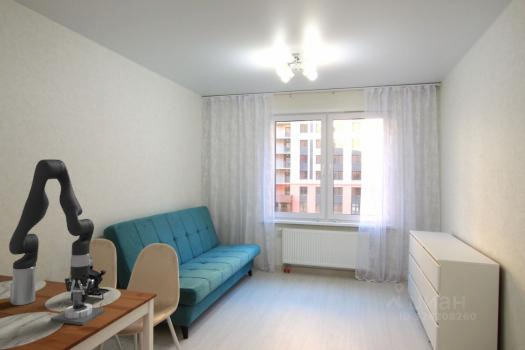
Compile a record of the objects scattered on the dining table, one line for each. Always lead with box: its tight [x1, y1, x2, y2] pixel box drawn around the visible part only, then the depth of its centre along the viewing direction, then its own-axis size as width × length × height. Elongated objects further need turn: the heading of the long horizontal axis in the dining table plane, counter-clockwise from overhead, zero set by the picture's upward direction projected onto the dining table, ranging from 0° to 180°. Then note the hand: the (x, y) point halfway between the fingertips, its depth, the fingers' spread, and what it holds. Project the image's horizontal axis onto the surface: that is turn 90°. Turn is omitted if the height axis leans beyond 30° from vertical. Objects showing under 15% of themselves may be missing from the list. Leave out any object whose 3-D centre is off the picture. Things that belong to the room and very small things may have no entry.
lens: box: [72, 286, 86, 309], centre depth 146 cm, size 5×5×9 cm
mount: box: [50, 303, 106, 326], centre depth 146 cm, size 16×14×4 cm
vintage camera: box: [87, 256, 111, 300], centre depth 167 cm, size 10×16×20 cm, turn 79°
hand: (79, 301), depth 146 cm, fingers closed on lens, 4 cm apart
